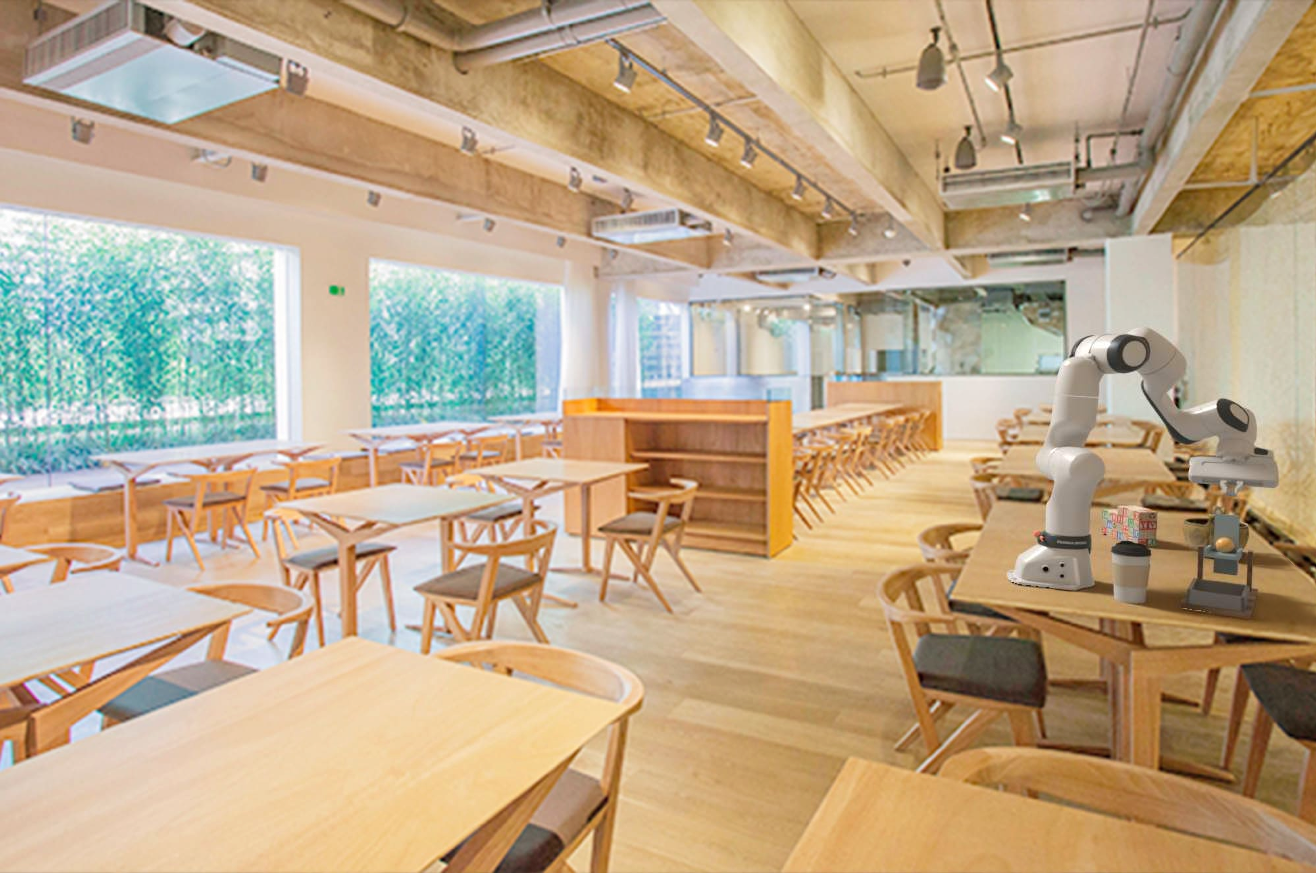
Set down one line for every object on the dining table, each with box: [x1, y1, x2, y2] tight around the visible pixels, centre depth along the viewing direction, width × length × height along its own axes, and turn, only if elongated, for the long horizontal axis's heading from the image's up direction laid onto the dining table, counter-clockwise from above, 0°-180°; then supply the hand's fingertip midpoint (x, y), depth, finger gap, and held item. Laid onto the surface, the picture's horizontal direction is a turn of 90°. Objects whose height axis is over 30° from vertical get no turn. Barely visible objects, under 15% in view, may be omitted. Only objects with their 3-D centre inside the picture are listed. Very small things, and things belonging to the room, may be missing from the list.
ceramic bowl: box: [1182, 505, 1250, 553], centre depth 243 cm, size 22×17×15 cm
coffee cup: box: [1110, 541, 1152, 605], centre depth 199 cm, size 9×9×15 cm
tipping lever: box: [1204, 513, 1247, 576], centre depth 201 cm, size 18×9×16 cm, turn 139°
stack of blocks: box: [1101, 504, 1158, 548], centre depth 267 cm, size 21×6×12 cm, turn 0°
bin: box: [1186, 577, 1249, 612], centre depth 192 cm, size 14×12×4 cm
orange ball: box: [1216, 538, 1234, 553], centre depth 202 cm, size 4×4×4 cm
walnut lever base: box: [1179, 545, 1259, 620], centre depth 196 cm, size 26×14×12 cm, turn 139°
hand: (1230, 495), depth 210 cm, fingers closed
